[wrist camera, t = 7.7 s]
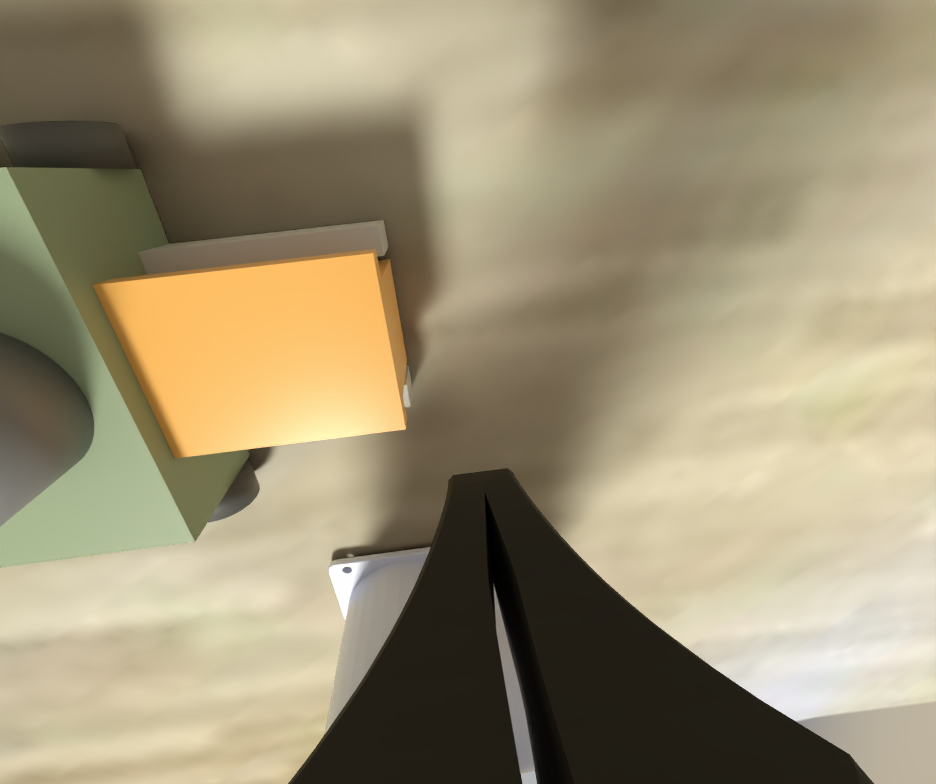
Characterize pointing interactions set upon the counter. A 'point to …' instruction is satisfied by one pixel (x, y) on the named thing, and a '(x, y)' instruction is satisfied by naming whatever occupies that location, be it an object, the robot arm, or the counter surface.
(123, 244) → the mower housing
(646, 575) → the counter surface
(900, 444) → the counter surface
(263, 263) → the orange slab
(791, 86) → the counter surface
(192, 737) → the counter surface
